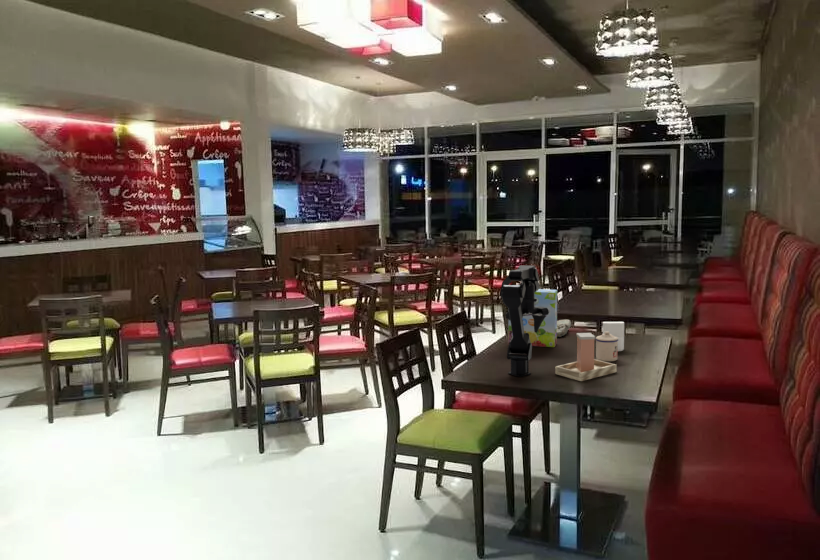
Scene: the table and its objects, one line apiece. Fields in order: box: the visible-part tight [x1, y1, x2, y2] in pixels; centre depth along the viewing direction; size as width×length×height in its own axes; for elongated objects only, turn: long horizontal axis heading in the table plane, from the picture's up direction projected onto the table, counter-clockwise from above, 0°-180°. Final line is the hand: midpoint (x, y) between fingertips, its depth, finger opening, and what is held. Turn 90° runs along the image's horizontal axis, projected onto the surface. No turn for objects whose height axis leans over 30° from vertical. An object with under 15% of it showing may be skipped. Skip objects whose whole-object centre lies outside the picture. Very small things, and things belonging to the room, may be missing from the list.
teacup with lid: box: [595, 332, 619, 362], centre depth 282 cm, size 12×9×12 cm
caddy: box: [575, 332, 596, 372], centre depth 260 cm, size 6×7×14 cm
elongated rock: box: [557, 318, 572, 338], centre depth 338 cm, size 35×5×10 cm
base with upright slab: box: [602, 321, 625, 352], centre depth 297 cm, size 9×9×12 cm
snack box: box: [507, 288, 558, 348], centre depth 309 cm, size 22×9×26 cm, turn 72°
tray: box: [554, 358, 618, 382], centre depth 261 cm, size 20×13×3 cm, turn 124°
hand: (527, 334), depth 273 cm, fingers open, 9 cm apart
